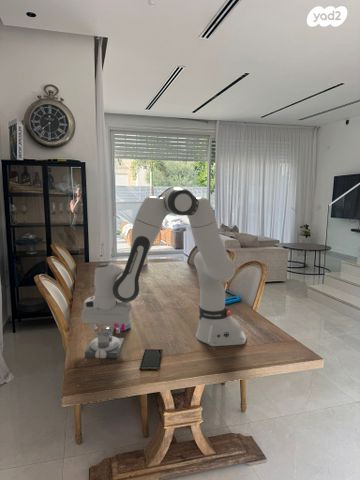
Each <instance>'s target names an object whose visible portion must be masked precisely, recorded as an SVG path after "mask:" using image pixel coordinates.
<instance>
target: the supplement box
mask: <svg viewBox="0 0 360 480" xmlns="http://www.w3.org/2000/svg"><path fill="white" fill-rule="evenodd" d="M131 320H132V319H131ZM131 320H130V322H129V323H128V324H122V326H121V328H120V333H125V332H126V331H128V330H130V329H132V327H131V325H132V324H131V322H132V321H131ZM116 328H119V326H118V324H117V323H113V329H114V330H115V331H116Z"/></svg>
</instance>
